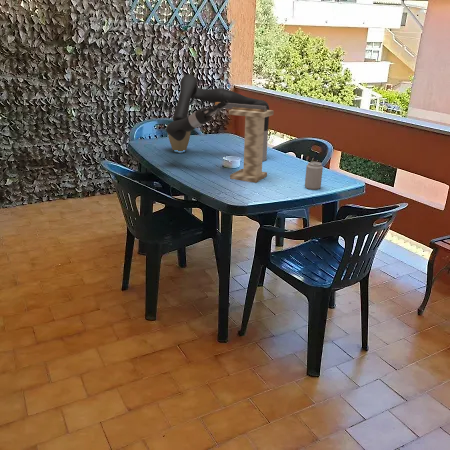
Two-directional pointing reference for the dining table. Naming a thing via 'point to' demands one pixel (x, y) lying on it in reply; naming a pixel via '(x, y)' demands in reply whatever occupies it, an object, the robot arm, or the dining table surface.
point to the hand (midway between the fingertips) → (226, 102)
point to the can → (313, 175)
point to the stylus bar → (242, 106)
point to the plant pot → (179, 142)
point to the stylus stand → (252, 144)
